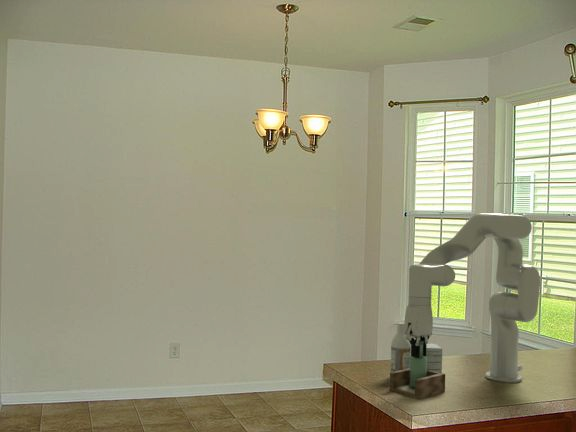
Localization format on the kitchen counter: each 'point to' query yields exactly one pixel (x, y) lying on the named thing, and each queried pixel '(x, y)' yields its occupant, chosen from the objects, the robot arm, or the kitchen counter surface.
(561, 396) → the kitchen counter surface
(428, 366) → the supplement box
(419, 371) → the green bottle
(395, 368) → the bath foam
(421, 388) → the walnut U-rest
